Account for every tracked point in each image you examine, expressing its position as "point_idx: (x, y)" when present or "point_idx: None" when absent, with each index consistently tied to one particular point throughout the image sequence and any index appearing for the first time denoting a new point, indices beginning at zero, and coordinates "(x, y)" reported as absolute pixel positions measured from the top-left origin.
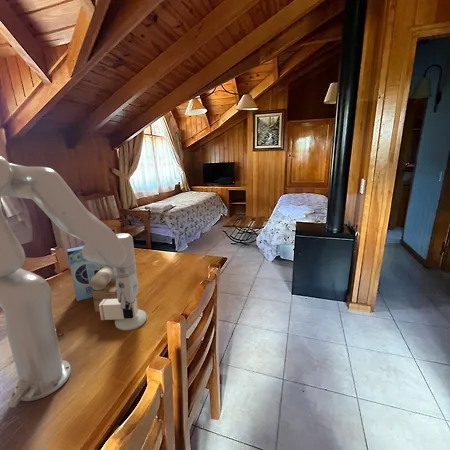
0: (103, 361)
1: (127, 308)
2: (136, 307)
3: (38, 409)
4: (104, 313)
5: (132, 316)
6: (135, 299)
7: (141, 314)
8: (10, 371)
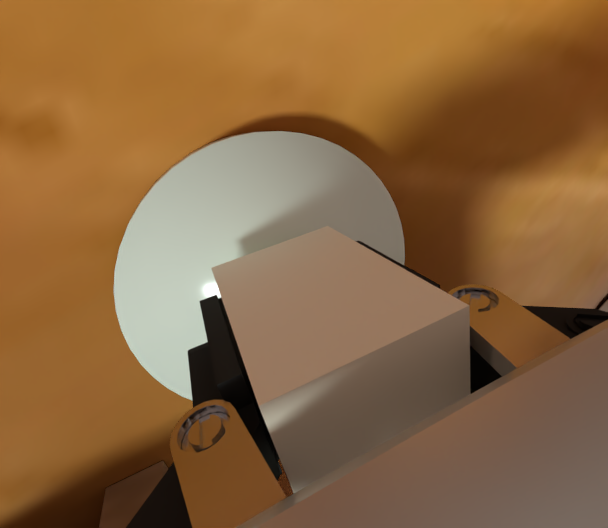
0: (595, 195)
1: (546, 309)
2: (270, 288)
3: None
4: None
5: (366, 247)
6: (330, 373)
7: (199, 220)
8: None
